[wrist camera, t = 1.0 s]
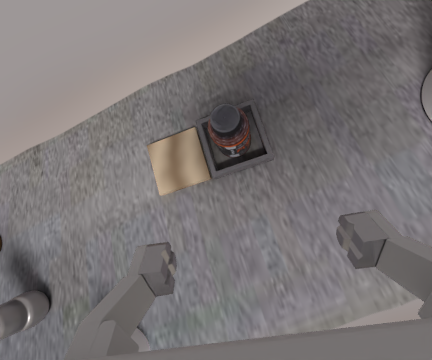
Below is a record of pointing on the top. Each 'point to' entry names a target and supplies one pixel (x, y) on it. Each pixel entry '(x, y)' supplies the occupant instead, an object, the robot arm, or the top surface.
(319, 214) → the top surface
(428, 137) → the top surface
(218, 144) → the supplement bottle
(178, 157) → the coaster
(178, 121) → the top surface
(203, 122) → the holder
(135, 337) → the base with upright slab
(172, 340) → the top surface
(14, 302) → the plastic bottle
